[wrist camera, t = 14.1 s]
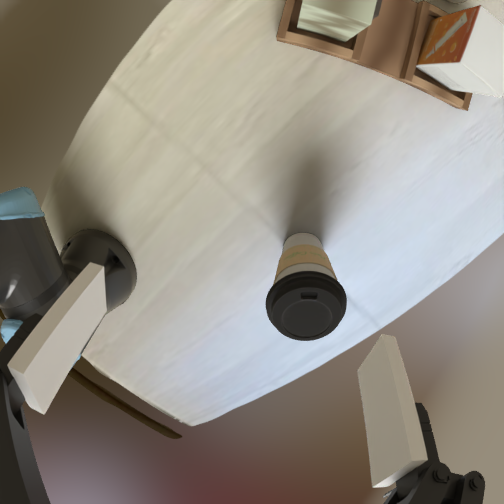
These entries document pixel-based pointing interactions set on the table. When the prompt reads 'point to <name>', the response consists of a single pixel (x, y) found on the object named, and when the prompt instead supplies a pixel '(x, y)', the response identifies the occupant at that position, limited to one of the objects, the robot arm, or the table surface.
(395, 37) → the brown divided tray
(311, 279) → the coffee cup
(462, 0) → the can
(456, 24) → the small box
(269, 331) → the table surface
